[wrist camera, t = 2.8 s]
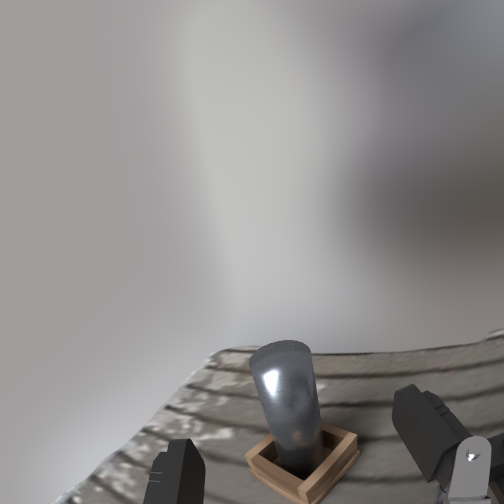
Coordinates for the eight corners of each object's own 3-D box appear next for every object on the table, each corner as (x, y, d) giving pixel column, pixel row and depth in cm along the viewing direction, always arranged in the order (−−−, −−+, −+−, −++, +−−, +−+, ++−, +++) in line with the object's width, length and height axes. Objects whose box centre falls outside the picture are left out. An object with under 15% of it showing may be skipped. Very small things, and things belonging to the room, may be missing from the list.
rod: (301, 442, 28) (277, 335, 24) (334, 457, 24) (323, 348, 21) (274, 467, 25) (236, 364, 21) (306, 486, 21) (281, 385, 18)
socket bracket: (300, 429, 31) (295, 407, 30) (360, 454, 24) (361, 433, 23) (250, 474, 25) (240, 455, 24) (310, 511, 19) (306, 496, 17)
